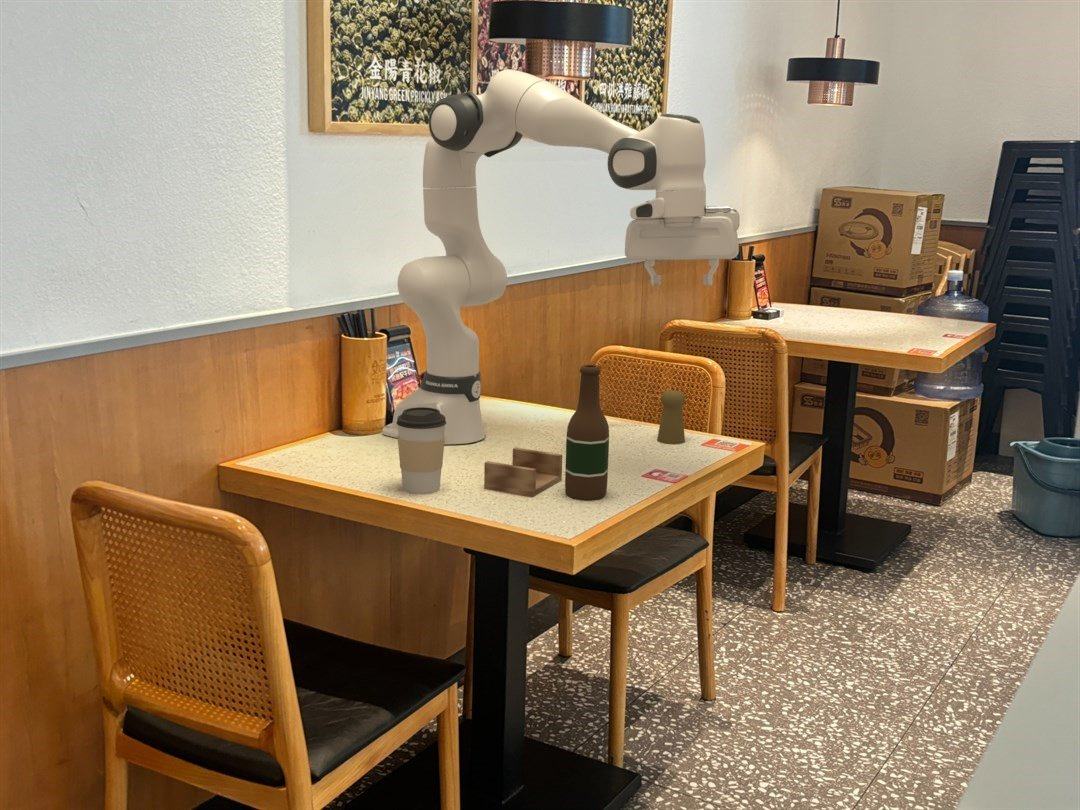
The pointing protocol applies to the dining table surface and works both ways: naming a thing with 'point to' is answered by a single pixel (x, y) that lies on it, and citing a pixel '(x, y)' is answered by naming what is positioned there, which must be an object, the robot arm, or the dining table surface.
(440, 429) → the coffee cup
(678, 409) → the cork
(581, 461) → the beer bottle
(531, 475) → the walnut rest
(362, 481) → the dining table surface
